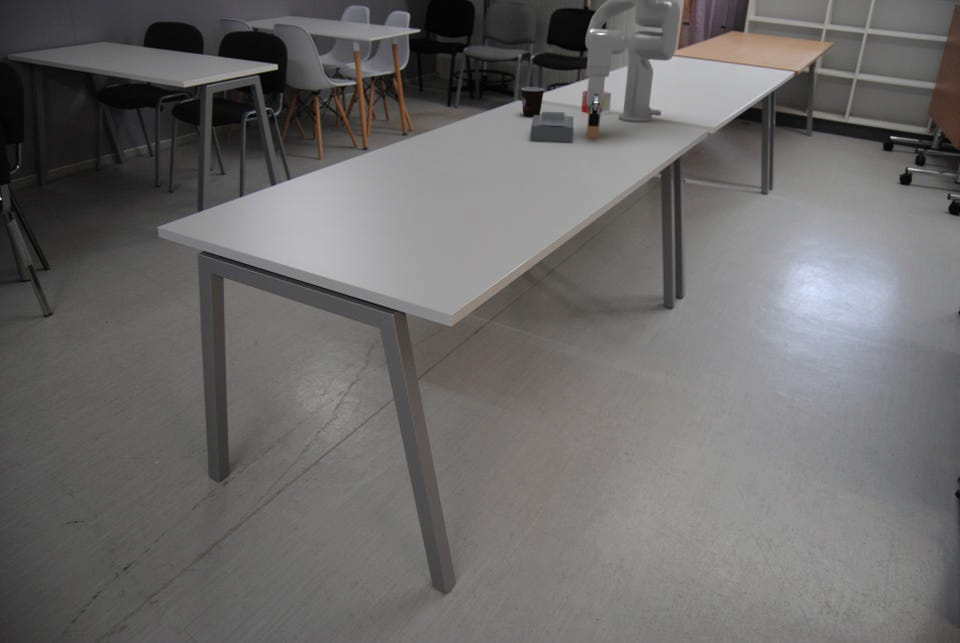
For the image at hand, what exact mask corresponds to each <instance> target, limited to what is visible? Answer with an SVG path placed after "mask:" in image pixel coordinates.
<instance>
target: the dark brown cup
mask: <svg viewBox="0 0 960 643" xmlns="http://www.w3.org/2000/svg"><path fill="white" fill-rule="evenodd" d="M520 90H521V91H520V92H521V103H522V105H521V106H522V116H523V117H524V118H532V117H534V115H540V114H541V109H542V105H543V97H544V92H545V89H544V88H543V87H542V88H541V87H534V86H527V87H522V88H521V89H520Z"/></svg>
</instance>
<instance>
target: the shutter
mask: <svg viewBox="0 0 960 643" xmlns="http://www.w3.org/2000/svg"><path fill="white" fill-rule="evenodd" d="M541 114H542V120H541V125H549V126H564V116H565V115H566V114H565V112H564V111H563V112H561V111H542V112H541Z"/></svg>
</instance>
